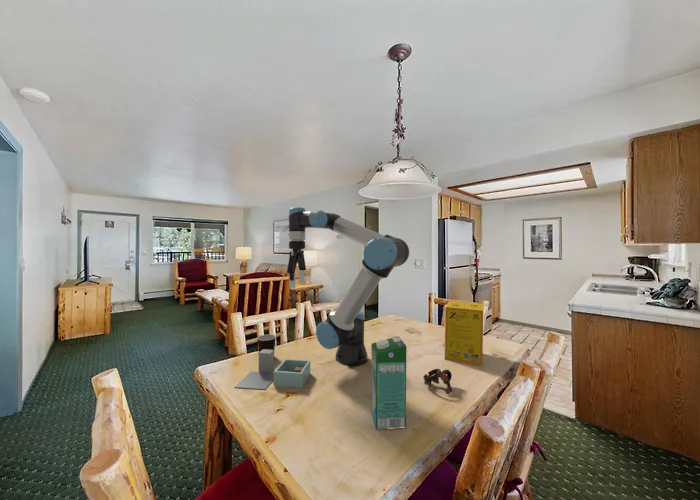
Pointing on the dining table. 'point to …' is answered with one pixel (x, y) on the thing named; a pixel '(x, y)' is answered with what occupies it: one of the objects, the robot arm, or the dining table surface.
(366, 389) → the dining table surface
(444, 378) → the brown curved piece
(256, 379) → the bookend
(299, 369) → the walnut block
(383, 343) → the milk carton
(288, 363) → the tub
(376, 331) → the dining table surface
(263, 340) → the coffee mug
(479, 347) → the packaging box
